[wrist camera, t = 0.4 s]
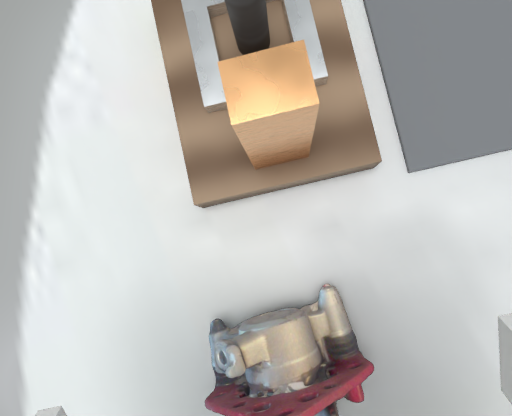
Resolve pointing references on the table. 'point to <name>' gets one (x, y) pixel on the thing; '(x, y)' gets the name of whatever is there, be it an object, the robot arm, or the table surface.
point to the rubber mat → (446, 76)
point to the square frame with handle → (262, 83)
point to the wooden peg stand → (218, 123)
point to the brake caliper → (288, 362)
